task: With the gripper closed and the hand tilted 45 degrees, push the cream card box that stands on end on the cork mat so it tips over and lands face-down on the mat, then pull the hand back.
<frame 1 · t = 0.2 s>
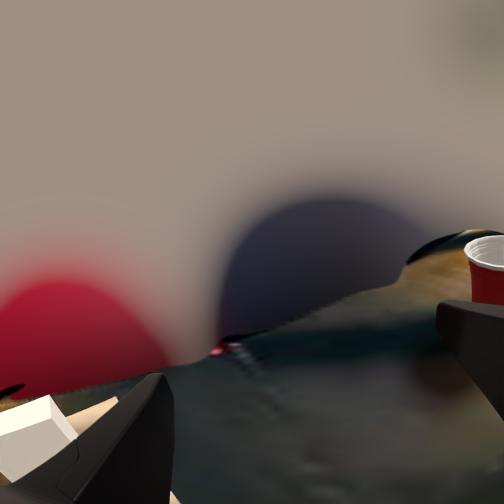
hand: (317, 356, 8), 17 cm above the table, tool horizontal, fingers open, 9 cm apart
mat: (90, 483, 15), on the table
plastic cup: (488, 338, 24), on the table
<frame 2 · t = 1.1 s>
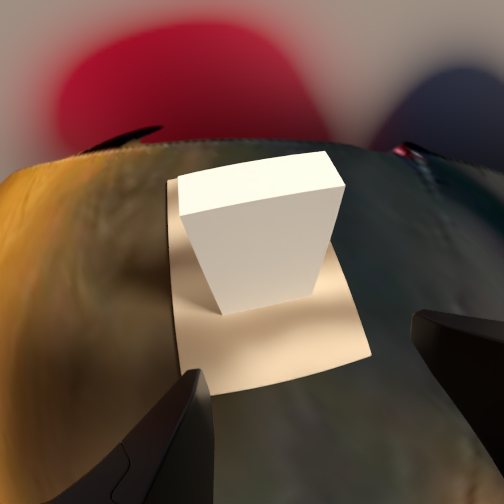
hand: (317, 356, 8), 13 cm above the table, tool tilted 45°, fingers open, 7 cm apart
mat: (250, 253, 24), on the table
card box: (264, 292, 22), resting on mat
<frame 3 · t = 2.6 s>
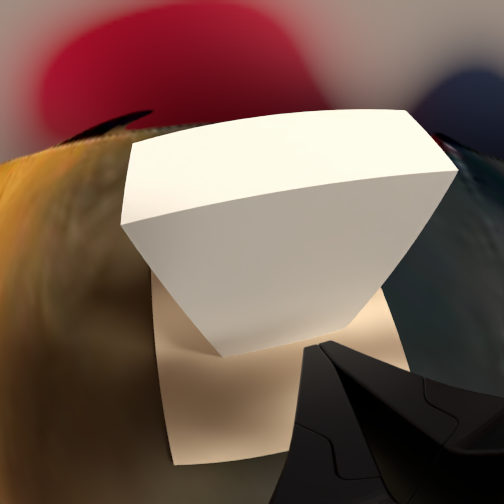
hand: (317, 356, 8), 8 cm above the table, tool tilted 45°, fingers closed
mat: (260, 269, 18), on the table
card box: (280, 324, 16), resting on mat
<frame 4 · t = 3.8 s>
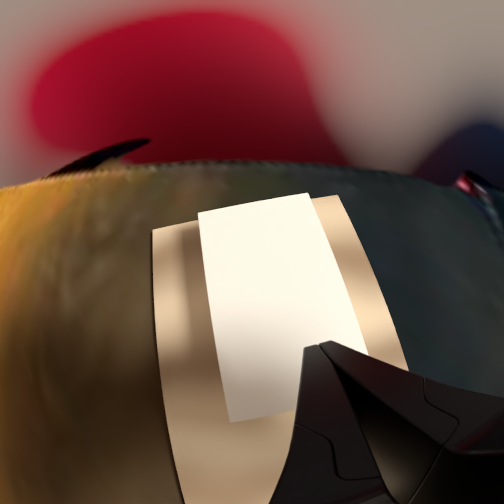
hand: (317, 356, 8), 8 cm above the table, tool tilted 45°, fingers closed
mat: (284, 366, 15), on the table
card box: (303, 406, 12), point 2 cm above the table, tilted 90°, touching mat
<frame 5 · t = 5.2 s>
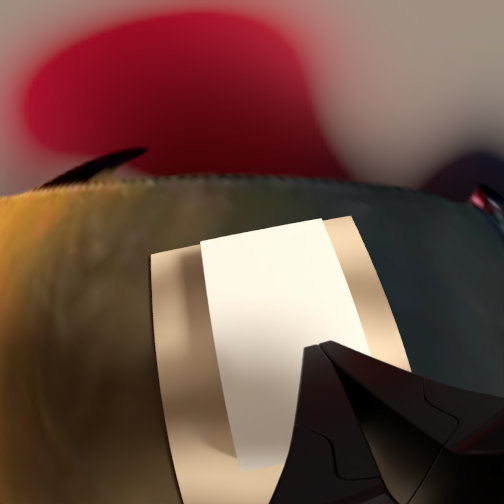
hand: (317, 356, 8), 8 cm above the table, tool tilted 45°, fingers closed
mat: (294, 406, 13), on the table
card box: (315, 450, 11), point 2 cm above the table, tilted 90°, touching mat
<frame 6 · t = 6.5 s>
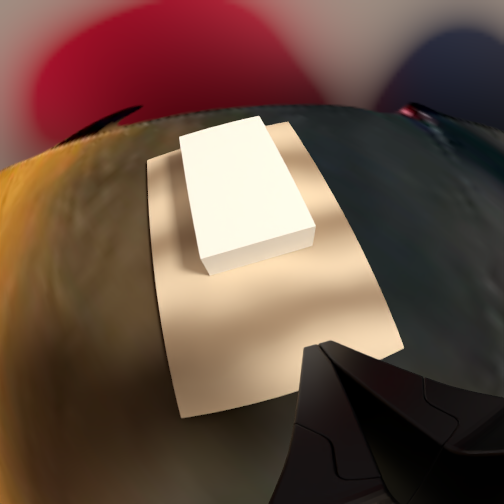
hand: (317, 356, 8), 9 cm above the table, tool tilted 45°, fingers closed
mat: (247, 234, 20), on the table
card box: (260, 251, 17), point 2 cm above the table, tilted 90°, touching mat
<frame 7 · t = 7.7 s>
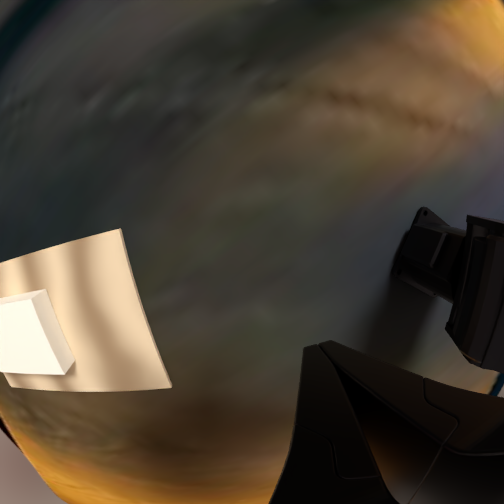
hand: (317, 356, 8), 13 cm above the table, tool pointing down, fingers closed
mat: (45, 329, 20), on the table
card box: (53, 332, 18), point 2 cm above the table, tilted 90°, touching mat
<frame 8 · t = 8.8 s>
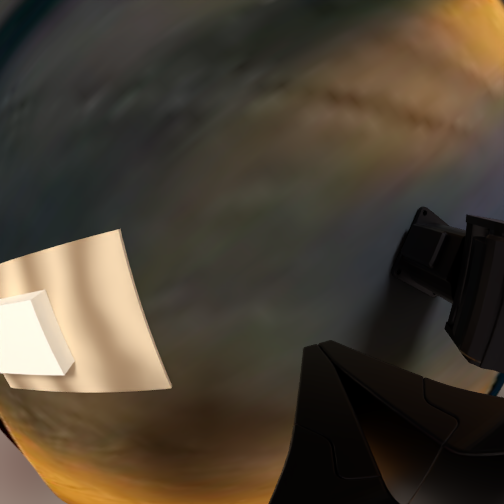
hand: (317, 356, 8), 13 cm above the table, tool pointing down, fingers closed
mat: (44, 330, 20), on the table
card box: (53, 333, 18), point 2 cm above the table, tilted 90°, touching mat
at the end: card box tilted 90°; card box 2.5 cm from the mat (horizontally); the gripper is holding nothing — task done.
